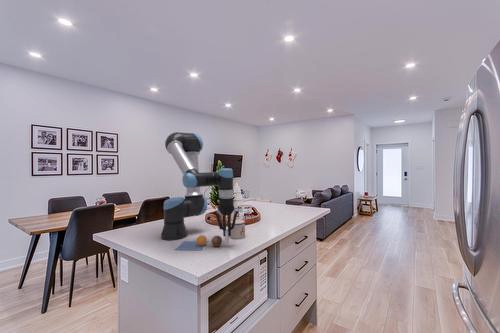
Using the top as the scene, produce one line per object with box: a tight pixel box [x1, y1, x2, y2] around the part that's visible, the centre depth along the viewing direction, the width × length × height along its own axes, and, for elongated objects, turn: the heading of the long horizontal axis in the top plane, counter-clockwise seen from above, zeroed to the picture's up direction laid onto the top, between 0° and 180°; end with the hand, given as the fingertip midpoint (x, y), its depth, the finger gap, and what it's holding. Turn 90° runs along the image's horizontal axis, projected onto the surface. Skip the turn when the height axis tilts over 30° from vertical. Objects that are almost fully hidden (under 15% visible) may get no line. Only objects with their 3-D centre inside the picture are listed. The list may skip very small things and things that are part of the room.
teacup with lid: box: [229, 216, 246, 240], centre depth 142 cm, size 12×9×12 cm
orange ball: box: [195, 234, 208, 246], centre depth 126 cm, size 6×6×6 cm
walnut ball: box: [211, 235, 223, 247], centre depth 124 cm, size 6×6×6 cm
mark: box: [174, 240, 210, 251], centre depth 126 cm, size 14×14×1 cm
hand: (227, 242), depth 124 cm, fingers closed
